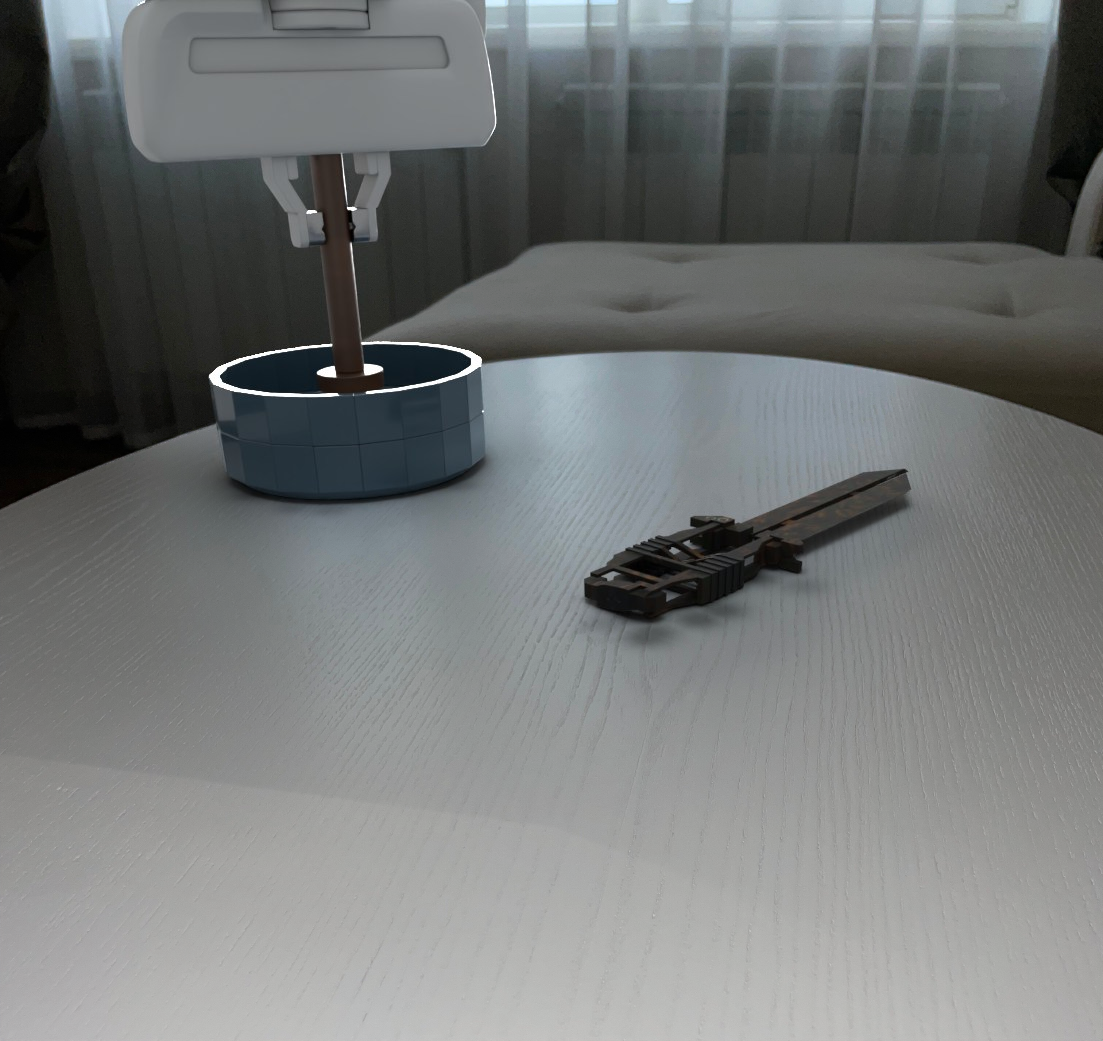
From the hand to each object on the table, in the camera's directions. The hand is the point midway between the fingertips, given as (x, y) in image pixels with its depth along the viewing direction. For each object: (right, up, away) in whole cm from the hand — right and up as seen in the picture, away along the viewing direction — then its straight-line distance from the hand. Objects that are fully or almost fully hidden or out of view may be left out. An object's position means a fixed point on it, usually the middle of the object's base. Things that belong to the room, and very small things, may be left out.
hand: (335, 243), depth 66 cm
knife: (+24, -19, -8) cm, 31 cm away
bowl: (0, -11, +6) cm, 13 cm away
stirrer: (0, -7, +4) cm, 8 cm away
